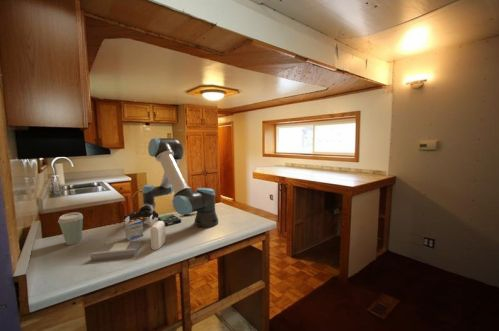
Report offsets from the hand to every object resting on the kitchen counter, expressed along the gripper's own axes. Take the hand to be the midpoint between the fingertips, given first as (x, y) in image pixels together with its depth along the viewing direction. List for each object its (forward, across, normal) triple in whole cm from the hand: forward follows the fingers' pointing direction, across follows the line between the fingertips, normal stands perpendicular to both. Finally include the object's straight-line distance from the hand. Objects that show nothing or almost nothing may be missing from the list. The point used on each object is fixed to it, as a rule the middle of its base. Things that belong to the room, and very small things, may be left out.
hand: (137, 221), depth 135 cm
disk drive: (-13, -16, -7) cm, 22 cm away
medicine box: (+9, 0, -6) cm, 11 cm away
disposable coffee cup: (+9, +30, -6) cm, 32 cm away
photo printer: (+23, -15, -6) cm, 28 cm away
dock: (+25, +3, -6) cm, 26 cm away
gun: (-25, -30, -6) cm, 39 cm away
